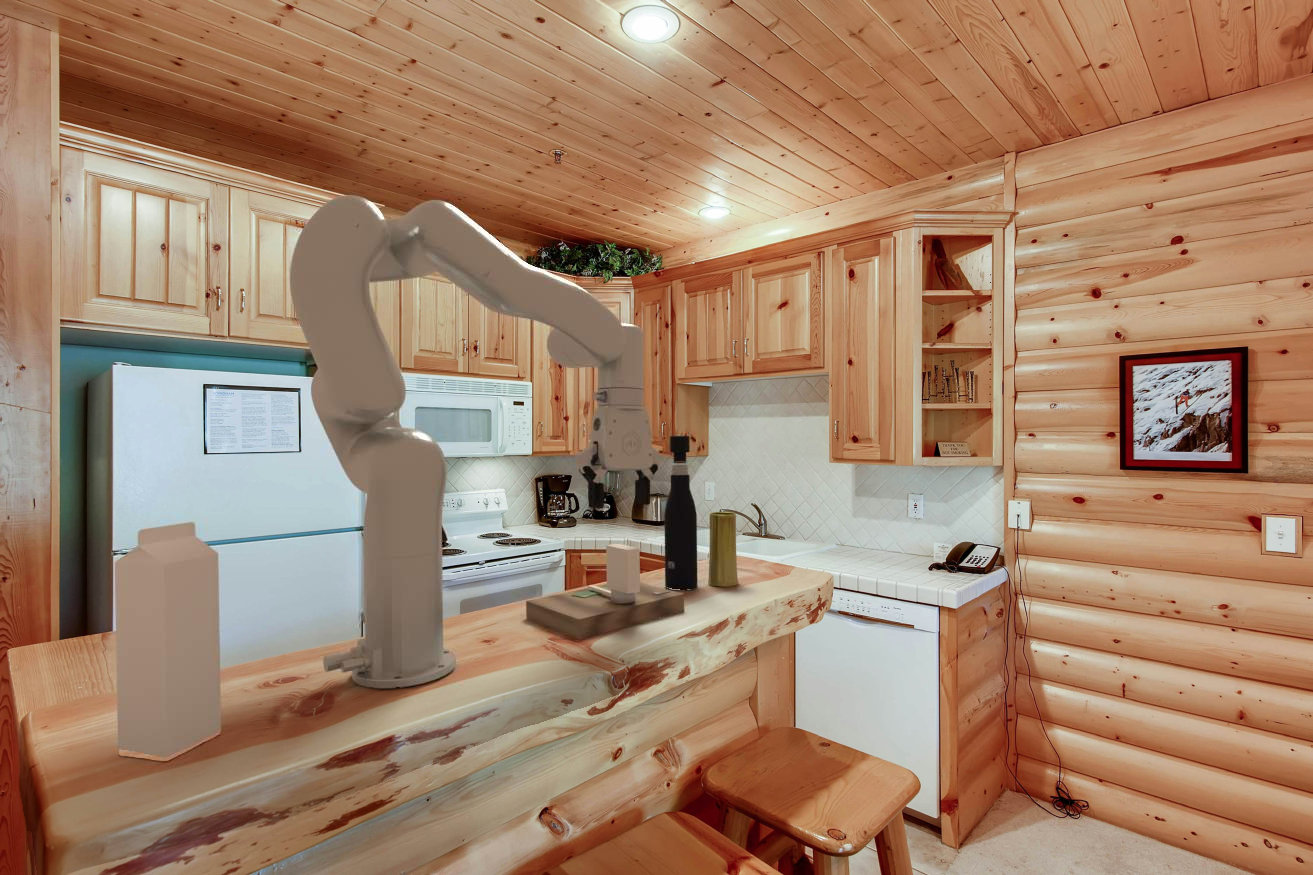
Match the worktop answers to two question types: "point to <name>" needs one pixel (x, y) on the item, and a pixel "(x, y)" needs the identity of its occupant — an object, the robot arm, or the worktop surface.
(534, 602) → the dial board
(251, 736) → the worktop surface
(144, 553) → the milk
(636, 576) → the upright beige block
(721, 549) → the vase
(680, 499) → the black bottle
